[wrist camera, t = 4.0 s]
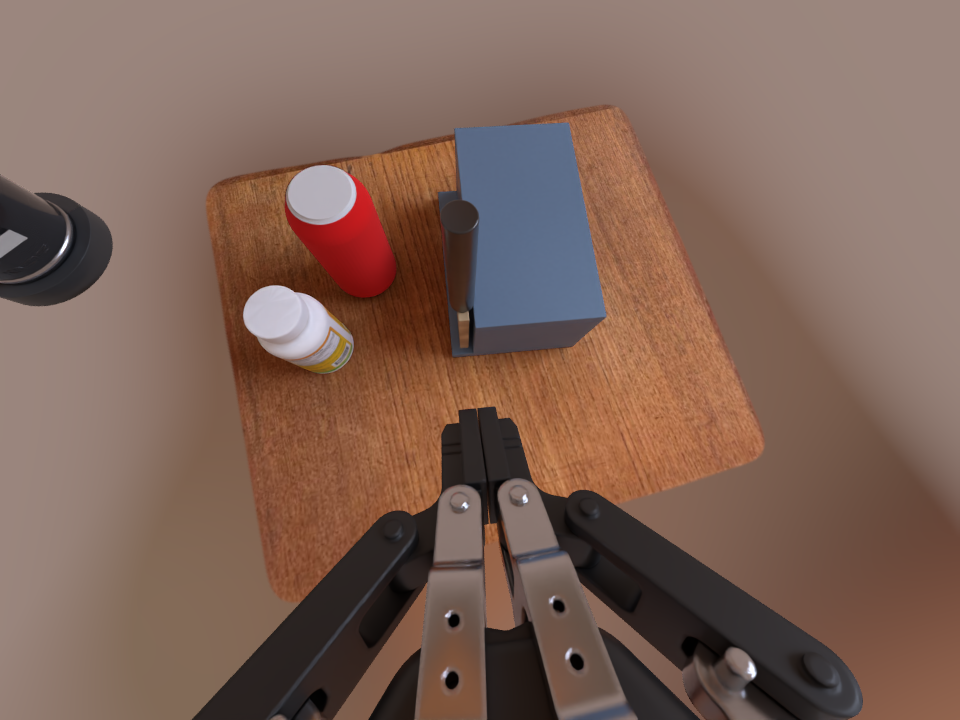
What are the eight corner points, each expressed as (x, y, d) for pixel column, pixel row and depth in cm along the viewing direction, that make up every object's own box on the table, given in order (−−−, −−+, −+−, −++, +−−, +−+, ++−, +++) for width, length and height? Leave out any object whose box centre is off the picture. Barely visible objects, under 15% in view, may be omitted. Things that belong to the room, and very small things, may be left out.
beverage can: (357, 237, 36) (305, 141, 24) (409, 262, 36) (382, 176, 24) (325, 285, 35) (255, 207, 23) (379, 312, 34) (335, 246, 23)
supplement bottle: (296, 326, 34) (229, 282, 24) (351, 316, 34) (307, 269, 25) (301, 379, 32) (233, 355, 23) (358, 368, 33) (314, 340, 23)
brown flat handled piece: (454, 349, 32) (442, 246, 15) (447, 268, 34) (429, 95, 17) (473, 347, 33) (482, 243, 15) (465, 266, 34) (465, 93, 17)
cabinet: (452, 357, 34) (448, 330, 25) (438, 198, 38) (430, 129, 29) (572, 346, 34) (606, 316, 26) (546, 191, 38) (568, 122, 30)
